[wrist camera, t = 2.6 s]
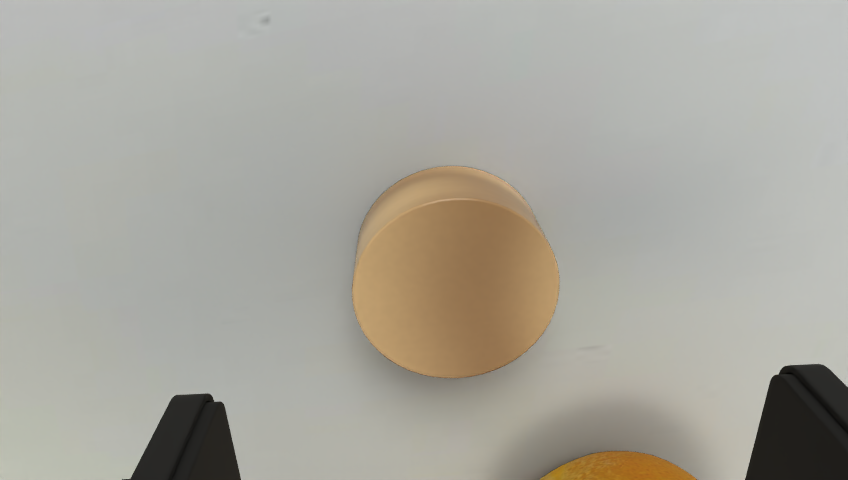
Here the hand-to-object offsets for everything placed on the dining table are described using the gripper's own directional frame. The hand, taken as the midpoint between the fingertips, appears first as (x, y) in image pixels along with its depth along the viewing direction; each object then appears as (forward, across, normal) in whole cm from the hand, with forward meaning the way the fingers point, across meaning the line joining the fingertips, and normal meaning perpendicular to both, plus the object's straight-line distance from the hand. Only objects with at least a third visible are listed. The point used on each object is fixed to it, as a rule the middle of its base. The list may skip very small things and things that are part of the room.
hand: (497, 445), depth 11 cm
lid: (+8, 0, 0) cm, 9 cm away
